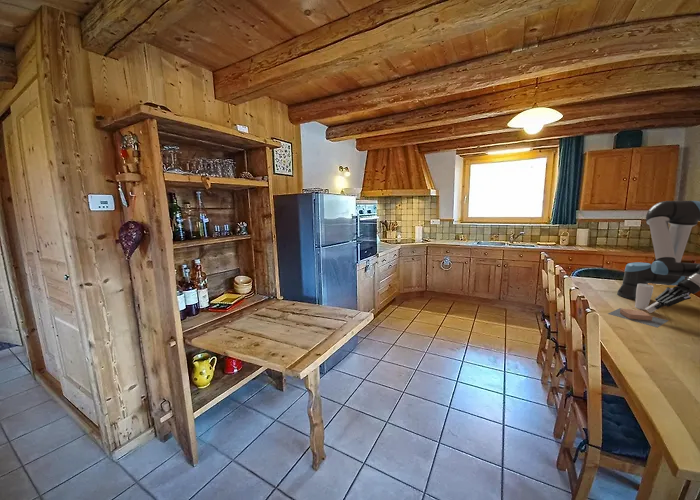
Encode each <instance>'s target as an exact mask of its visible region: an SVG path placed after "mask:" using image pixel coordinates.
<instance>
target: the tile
mask: <svg viewBox="0 0 700 500" xmlns="http://www.w3.org/2000/svg"><path fill="white" fill-rule="evenodd" d="M620 313H621V314H622V315H624V316H626V317H627V318H629V319H638V320H649V321H650V320H651V321H652V318H653V317H654V316H653V315H651V313H649V312H647V311H643V310H642V309H628V308H622V309H620Z"/></svg>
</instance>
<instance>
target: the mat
mask: <svg viewBox="0 0 700 500" xmlns="http://www.w3.org/2000/svg"><path fill="white" fill-rule="evenodd" d="M620 309H623V308H617V309H614V310H613V311H611V312H608V313H607V314H608V315H610V316H614V317H619V318H621V319H625V320H629V321H632V322H636V323H639V324H642V325H643V324H644V325H646V326H650V327H654V328H659V327H661V326H662V325H664V324H666V323H667V322H669V320H667V319H664V318H660V317H656V316H653V318H652V321H651V320H650V321H649V320H638V319H629V318H627V317H626V316H624V315H622V314H621V313H620Z"/></svg>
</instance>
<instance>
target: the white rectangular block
mask: <svg viewBox="0 0 700 500" xmlns="http://www.w3.org/2000/svg"><path fill="white" fill-rule="evenodd" d="M653 292H654V285H651V284H649V283H648V284H637V288H636V300H634V301H635V305H634V308H635V309H637V310H641V311H643V310H645V311H647V310H646V309H645V308H647V307H648V306H650V302H651V299H652V296H653Z"/></svg>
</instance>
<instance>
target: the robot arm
mask: <svg viewBox="0 0 700 500" xmlns="http://www.w3.org/2000/svg"><path fill="white" fill-rule="evenodd" d="M645 222H646V225H649V226H648V227H649V229H650V235H651V241H652V247H653V250H654V251H653V252H654V256H655V260H654V261H653V262H652V263H649V262H642V261H641V262H638V261H637V262H629V263H627V264H626V265H625V268H624V273H623V274H624V275H623V279H622V284H621V285H620V287H619V288H618V290H617V291H616V292H617V296H619V297H622V298H625V299H630V300H634V301H636V288H637V284H648V285H649V284H654V285H655V284H656V285H665V286H668V287H666V288H665V289H664V290H663V292H661V293H660V294H659V295H657V296H656V297H655V298H654V302H653V303H651V304H649V305H648V307H647V308H645V309H646V310H645V311H646V312H647V313H648V314H651V313H653V312H655V311H656V310H659V309H660V308H663V307H667V308H669V307H671V306H674V305H677V304H679V303H681V302H684V301H685V300H687V301H688V300H690V299H692V297H691V296H690V295H691V294H693V295H695V294H696V293H698V292H700V262H698V263H696V262H695V263H694V262H693V263H691V262H682V258H683V256H684V252H685V250H686V247H687V244H688V241H689V239H690V234H691V232H692V228H693V227H695V226H698V223H699V222H700V200H665V201H663V200H662V201H660V202H657V203H656V204H653V205H652V206H651V207H650V208H649V210H648V211H647V212H646V215H645ZM670 286H674V287H671V288H670Z"/></svg>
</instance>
